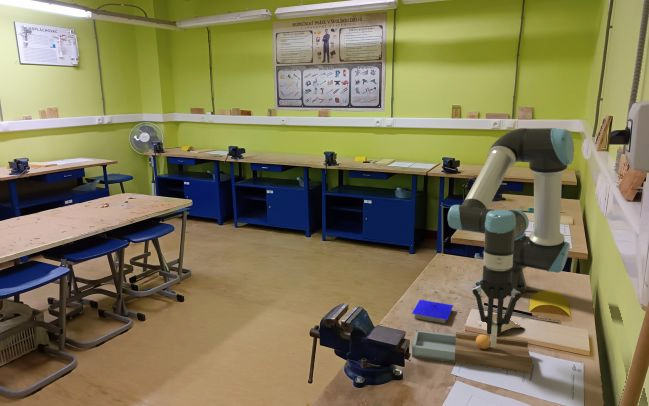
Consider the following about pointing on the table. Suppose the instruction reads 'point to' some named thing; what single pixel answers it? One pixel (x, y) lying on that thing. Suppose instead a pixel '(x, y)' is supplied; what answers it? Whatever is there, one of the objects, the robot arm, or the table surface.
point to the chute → (493, 353)
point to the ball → (483, 341)
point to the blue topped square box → (432, 311)
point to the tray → (434, 346)
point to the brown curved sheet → (505, 326)
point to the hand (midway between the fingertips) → (493, 344)
